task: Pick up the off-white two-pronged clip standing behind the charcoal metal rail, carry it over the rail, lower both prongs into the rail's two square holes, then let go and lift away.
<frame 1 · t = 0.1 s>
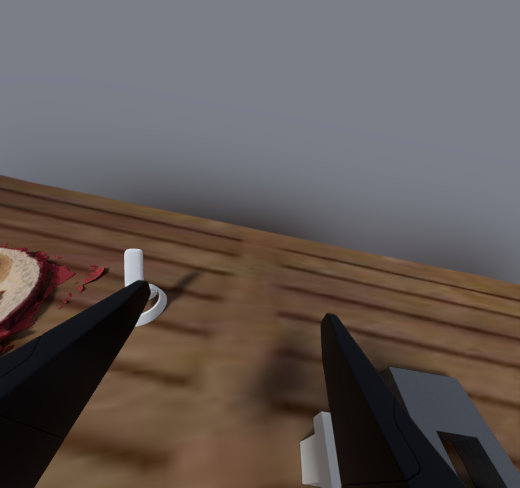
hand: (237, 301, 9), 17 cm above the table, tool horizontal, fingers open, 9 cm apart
hook: (142, 306, 26), on the table
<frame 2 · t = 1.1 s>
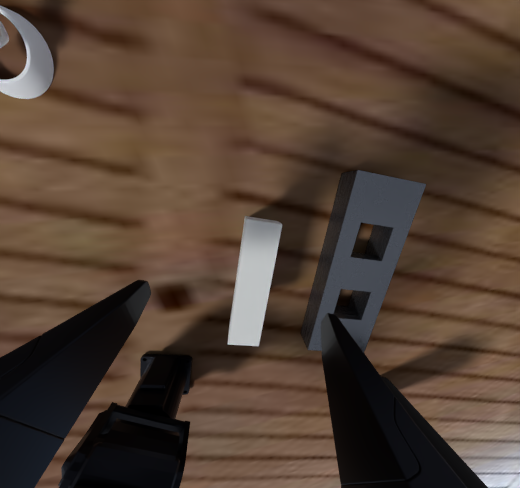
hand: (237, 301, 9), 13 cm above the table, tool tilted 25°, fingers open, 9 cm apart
hook: (14, 57, 16), on the table
drinking cup: (376, 386, 31), on the table
clip: (249, 261, 23), on the table
rail: (346, 265, 24), on the table
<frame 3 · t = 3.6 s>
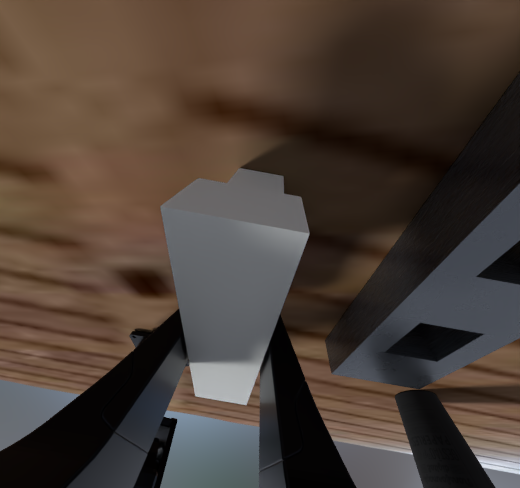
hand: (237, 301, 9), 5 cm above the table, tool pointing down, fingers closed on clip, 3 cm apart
drinking cup: (413, 394, 25), on the table
clip: (250, 248, 13), on the table, touching gripper
rail: (441, 270, 12), on the table
when the fingers open (5 cm above the table, at t = 6.6 s): clip stays where it is, on the table.
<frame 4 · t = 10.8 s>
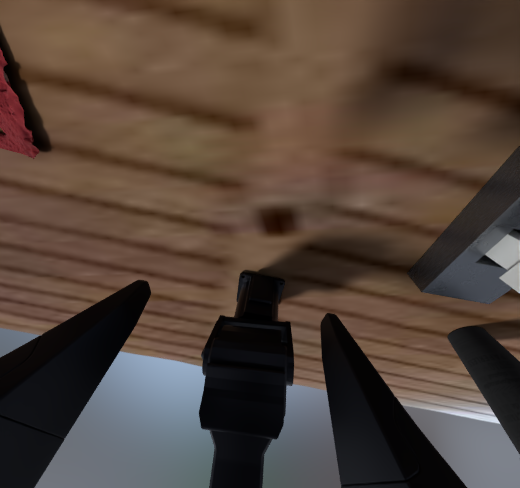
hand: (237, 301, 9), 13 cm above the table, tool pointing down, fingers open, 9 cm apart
drinking cup: (464, 333, 30), on the table
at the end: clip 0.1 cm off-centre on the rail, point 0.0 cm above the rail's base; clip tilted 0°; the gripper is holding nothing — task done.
